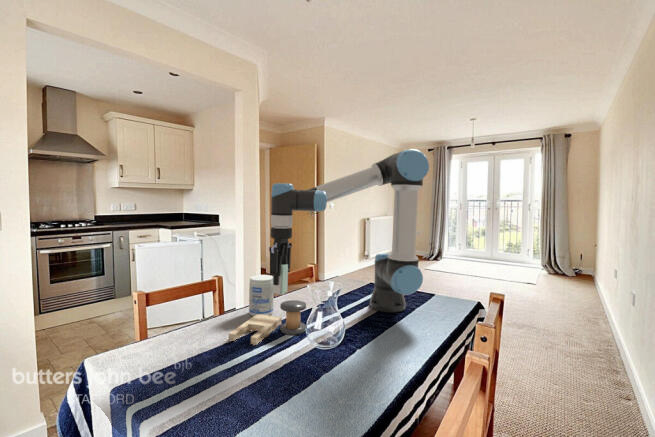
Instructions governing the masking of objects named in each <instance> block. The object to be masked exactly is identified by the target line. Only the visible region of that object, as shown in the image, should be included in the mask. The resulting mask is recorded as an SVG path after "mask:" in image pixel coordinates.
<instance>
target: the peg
mask: <svg viewBox="0 0 655 437" xmlns="http://www.w3.org/2000/svg"><path fill="white" fill-rule="evenodd" d="M288 270H289V269H288V265H286V264H281V271H280V276H281V294H279V295H282V296H283V295H285V294H286V293H288V282H289V272H288ZM272 293H273V284H272ZM273 294H274V293H273Z"/></svg>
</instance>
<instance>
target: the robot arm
mask: <svg viewBox="0 0 655 437" xmlns="http://www.w3.org/2000/svg"><path fill="white" fill-rule="evenodd" d="M370 166H371V167H368V168H365V169H362V170H360V171H357V172H354V173H351V174H348V175H345V176H343V177H339V178H336V179H334V180H331V181H328V182H326V183H323V184H320V185H316V186H314V187H311V188H309V189H294V185H293V183H286V182H285V183H283V182H282V183H281V182H279V183H276V182H275V183H274V184H272V186H271V197H270V198H271V199H270V200H271V207H270V208H271V209H270V210H271V211H270V213H271V214H270V216H271V217H270V226H271V228H270V238H271V239H273V246H269V248H268V250H269V251H268V252H269V275H270V276H273V293H274V294H275V295H280V294H281V276H280V271H281V264H286V265H288V273H290V272H291V270H290V269H291V261H292V260H291V259H292V258H291V256H292V255H291V254H292V247H293V243H292V242H289V240H290V239H292V237H293V228H292V226H293V211H295V212H296V211H300V212H316V213H317V212H324V211H326V209H327V204H328V203H330V202H333V201H335V200H338V199H341V198H344V197H346V196H350V195H352V194H354V193H357V192H360V191H363V190H366V189H369V188H372V187H374V186H380V187H382V186H383V185H388V184H390V187H391V188H392V189H393V190H394V196H393V197H394V200H393V217H392V218H393V219H392V222H393V224H392V245H391V253H377V254H376V255H375V258H374V288H373V291H372V294H371V296H370V299H369V307H370V308H372V309H373V310H375V311H378V312H383V313H400V312H403V311H405V310H406V307H407V306H406V305H407V304H406V298H405V296H409V295H412V294H414V293H416V292H417V291H418V290H419V289H420V288H421V287H422V284H423V282H424V281H423V280H424V276H423V273H422V271H421V269H420V268H419V257H418V256H417V255H416V253H415V252H416V235H417V219H418V218H417V217H418V215H417V214H418V197H419V196H418V195H419V191H420V190H421V189H422V188H423V184H424V178H425V177H426V176H427V174H429V173H428V172H429V170H430V162H429V160H428V158H427V156H426V155H425V154H424V153H423V152H422V151H421V150H418V149H416V148H415V149H414V148H410V149H404V150H401V151H399V152H396V153H393V154H391V155H389V156H388V157H386V158H384V159H381V160H379V161H377V162H375V163H372V164H371V165H370Z"/></svg>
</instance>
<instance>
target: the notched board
mask: <svg viewBox="0 0 655 437" xmlns="http://www.w3.org/2000/svg"><path fill="white" fill-rule="evenodd" d="M279 325H280V326H281V325H282V317H281V316H275V315H269V316H268V315H261V314H256V315H255V316H252V317H251V318H249V319H248V320H246V321H245V322H243V323H242V324H241V325H239V326H237V327H236V328H235V329H233V330H232V331H231V332H229V333H228V341H229V340H232V341H235V340H236V339H237V338H239V337H240V336H242V335H243V334H244V333H246V332H247V331H248V332H250V331H249V330H252V331H251V332H254V331H258V332H255V333H254V334H252V335H251V337H250V345H251V344H253V345H252V346H255V345H257V344H258V343H259V342H260V343H261V342H263V341H264V340H265V339H266V338H267V337H268V336H270V333H271V332H272V331H273V332H274V331H275V330H276V329H278V326H279ZM280 326H279V327H280ZM248 332H247V333H248ZM273 332H272V333H273ZM247 333H246V334H247ZM272 333H271V334H272ZM244 335H245V334H244ZM244 335H243V336H244ZM243 336H242V337H243ZM265 337H266V338H265ZM240 338H241V337H240ZM240 338H239V339H240ZM264 338H265V339H264ZM263 339H264V340H263ZM262 340H263V341H262ZM236 341H237V340H236ZM236 341H235V342H236ZM260 343H259V344H260ZM259 344H258V345H259ZM258 345H257V346H258Z"/></svg>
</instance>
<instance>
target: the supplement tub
mask: <svg viewBox="0 0 655 437" xmlns="http://www.w3.org/2000/svg"><path fill="white" fill-rule="evenodd" d="M272 284H273V275H270V274H257V275H252V276H250V277H249V284H248V285H249V290H248V292H249V293H248V294H249V296H248V297H249V298H248V305H249V306H248V313H249V315H250V316H252V317H254V316H255V315H256V314H261V315H268V316H272V314H273V313H274V300H275V295H274V294H273V293H272Z"/></svg>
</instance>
